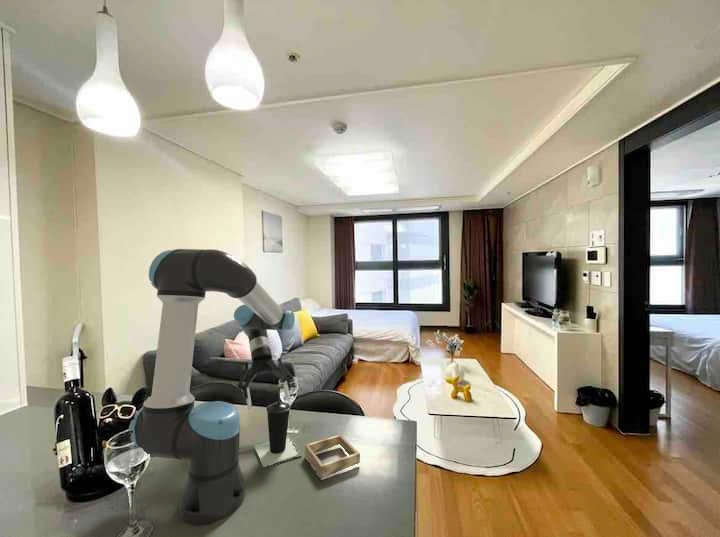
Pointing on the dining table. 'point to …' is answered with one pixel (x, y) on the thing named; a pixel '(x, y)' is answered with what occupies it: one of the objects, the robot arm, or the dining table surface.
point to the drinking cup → (278, 425)
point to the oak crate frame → (337, 464)
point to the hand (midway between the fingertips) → (269, 403)
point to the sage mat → (269, 457)
